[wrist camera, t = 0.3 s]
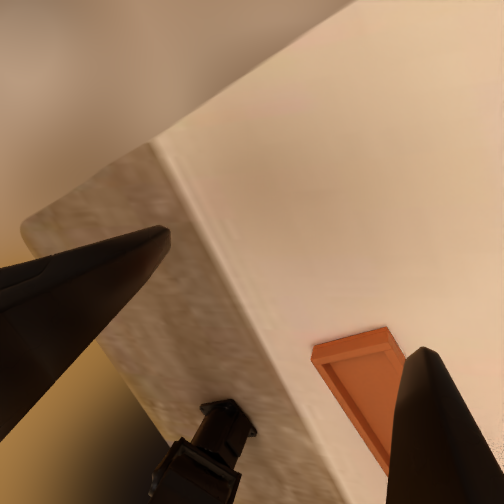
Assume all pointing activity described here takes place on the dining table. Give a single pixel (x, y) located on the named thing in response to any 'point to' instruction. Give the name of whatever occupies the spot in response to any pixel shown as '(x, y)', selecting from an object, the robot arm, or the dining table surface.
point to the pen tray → (365, 384)
